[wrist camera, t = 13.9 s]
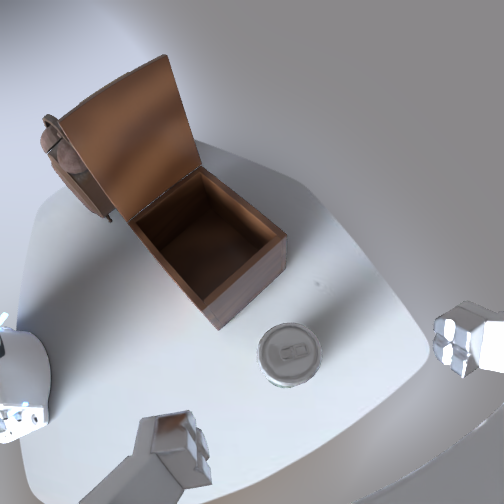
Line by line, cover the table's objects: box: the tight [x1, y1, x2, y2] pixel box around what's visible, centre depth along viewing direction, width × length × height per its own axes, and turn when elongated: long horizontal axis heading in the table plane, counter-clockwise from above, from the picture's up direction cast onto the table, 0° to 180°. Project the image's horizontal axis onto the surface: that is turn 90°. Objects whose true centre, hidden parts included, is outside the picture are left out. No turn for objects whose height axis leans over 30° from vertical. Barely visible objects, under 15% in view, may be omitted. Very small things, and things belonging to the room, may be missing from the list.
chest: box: [128, 166, 287, 331], centre depth 36 cm, size 15×12×9 cm
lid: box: [57, 55, 202, 222], centre depth 28 cm, size 15×12×5 cm
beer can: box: [257, 323, 322, 388], centre depth 27 cm, size 5×5×12 cm
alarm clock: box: [41, 114, 116, 223], centre depth 38 cm, size 14×7×20 cm, turn 53°
